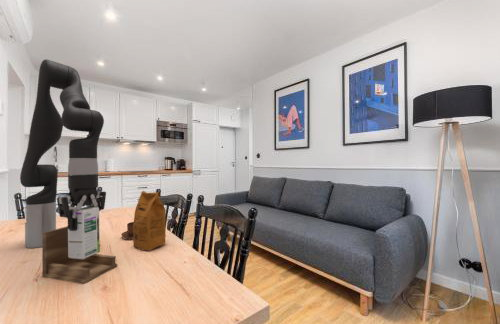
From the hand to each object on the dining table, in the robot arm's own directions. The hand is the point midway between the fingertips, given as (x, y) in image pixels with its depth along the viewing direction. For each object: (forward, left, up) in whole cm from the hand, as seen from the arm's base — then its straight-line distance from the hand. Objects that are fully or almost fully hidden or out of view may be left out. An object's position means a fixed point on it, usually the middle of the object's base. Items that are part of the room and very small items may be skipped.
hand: (83, 227), depth 70 cm
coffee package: (+4, +24, -14) cm, 28 cm away
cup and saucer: (-10, +33, -14) cm, 37 cm away
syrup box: (0, 0, -9) cm, 9 cm away
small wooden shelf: (-1, 0, -14) cm, 14 cm away
